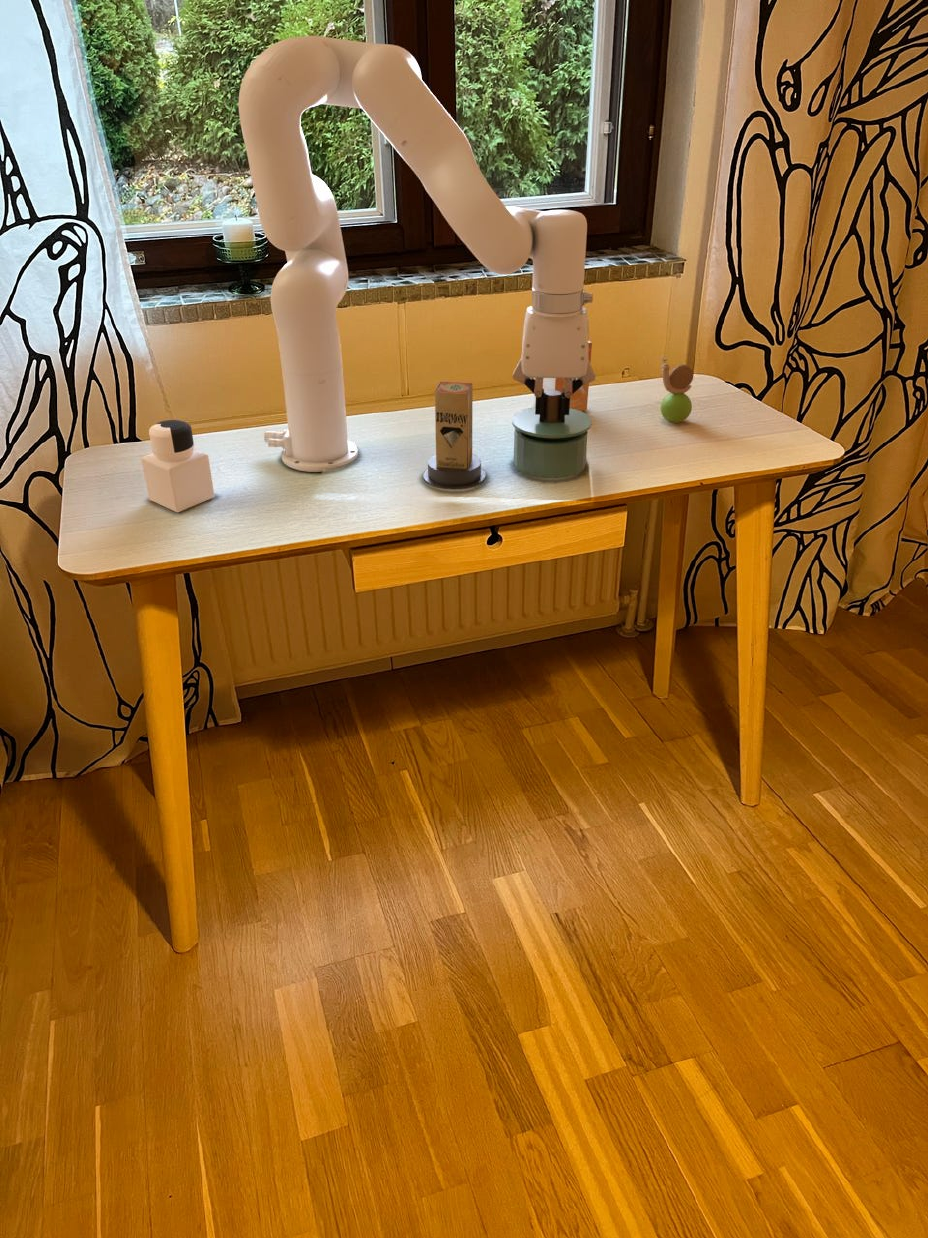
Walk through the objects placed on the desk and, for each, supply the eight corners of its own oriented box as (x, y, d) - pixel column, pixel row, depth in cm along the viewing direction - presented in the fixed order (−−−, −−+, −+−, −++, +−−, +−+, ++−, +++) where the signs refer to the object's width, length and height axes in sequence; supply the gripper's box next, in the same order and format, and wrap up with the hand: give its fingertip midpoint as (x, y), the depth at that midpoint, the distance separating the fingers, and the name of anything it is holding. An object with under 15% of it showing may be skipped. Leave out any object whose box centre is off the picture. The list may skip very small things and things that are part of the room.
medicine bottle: (186, 484, 153) (174, 411, 146) (215, 497, 149) (204, 423, 143) (148, 500, 148) (133, 425, 142) (177, 513, 144) (163, 437, 138)
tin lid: (510, 440, 150) (511, 406, 147) (513, 411, 160) (514, 378, 157) (592, 442, 149) (595, 407, 146) (589, 413, 160) (592, 379, 157)
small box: (553, 421, 175) (556, 349, 168) (532, 410, 180) (534, 340, 173) (588, 411, 179) (593, 341, 172) (566, 401, 183) (570, 332, 176)
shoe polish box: (441, 454, 155) (440, 381, 149) (472, 456, 154) (472, 382, 148) (436, 467, 151) (434, 392, 144) (467, 469, 150) (467, 394, 144)
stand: (419, 491, 151) (419, 473, 149) (426, 465, 159) (426, 448, 157) (484, 493, 150) (484, 475, 148) (487, 467, 158) (487, 449, 157)
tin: (512, 480, 154) (513, 443, 151) (514, 451, 164) (515, 415, 160) (586, 482, 153) (588, 444, 150) (583, 453, 163) (586, 417, 160)
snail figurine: (648, 418, 176) (655, 353, 170) (680, 414, 178) (688, 349, 171) (662, 429, 172) (670, 362, 165) (695, 425, 173) (704, 358, 167)
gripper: (610, 294, 147) (602, 411, 157) (503, 293, 148) (501, 409, 158) (613, 308, 140) (604, 429, 150) (501, 306, 141) (499, 426, 151)
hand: (551, 417), depth 154 cm, fingers closed on tin lid, 2 cm apart
